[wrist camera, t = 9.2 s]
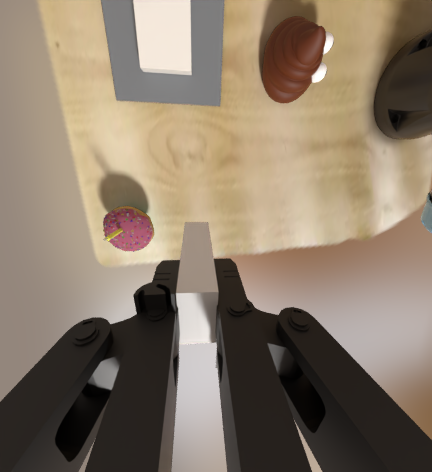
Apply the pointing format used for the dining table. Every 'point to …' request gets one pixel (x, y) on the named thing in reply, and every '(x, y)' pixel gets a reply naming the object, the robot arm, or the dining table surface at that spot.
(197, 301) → the robot arm
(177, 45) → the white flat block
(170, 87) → the slate board
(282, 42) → the poop emoji
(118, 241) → the cupcake
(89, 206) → the dining table surface
